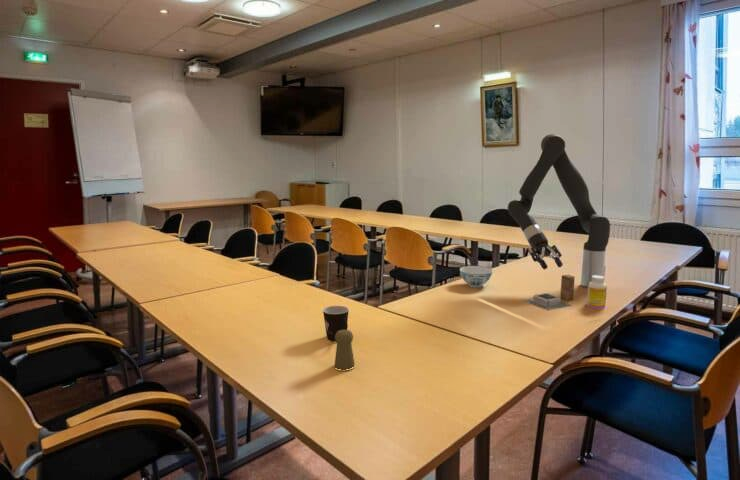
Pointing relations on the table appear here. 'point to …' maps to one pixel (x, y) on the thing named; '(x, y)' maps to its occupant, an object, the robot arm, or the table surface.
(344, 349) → the cork
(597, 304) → the supplement bottle
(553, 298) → the open square frame
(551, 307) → the coaster
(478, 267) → the chinaware
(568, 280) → the brown wooden block
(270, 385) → the table surface
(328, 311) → the coffee mug
